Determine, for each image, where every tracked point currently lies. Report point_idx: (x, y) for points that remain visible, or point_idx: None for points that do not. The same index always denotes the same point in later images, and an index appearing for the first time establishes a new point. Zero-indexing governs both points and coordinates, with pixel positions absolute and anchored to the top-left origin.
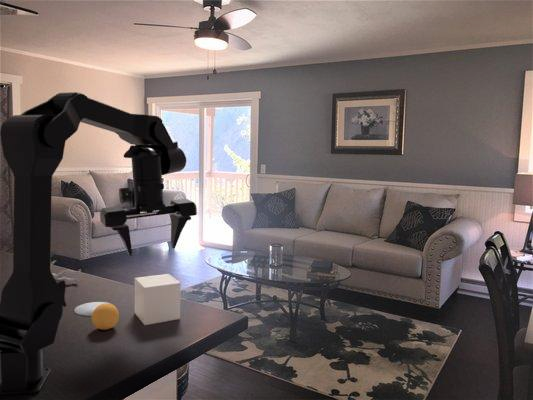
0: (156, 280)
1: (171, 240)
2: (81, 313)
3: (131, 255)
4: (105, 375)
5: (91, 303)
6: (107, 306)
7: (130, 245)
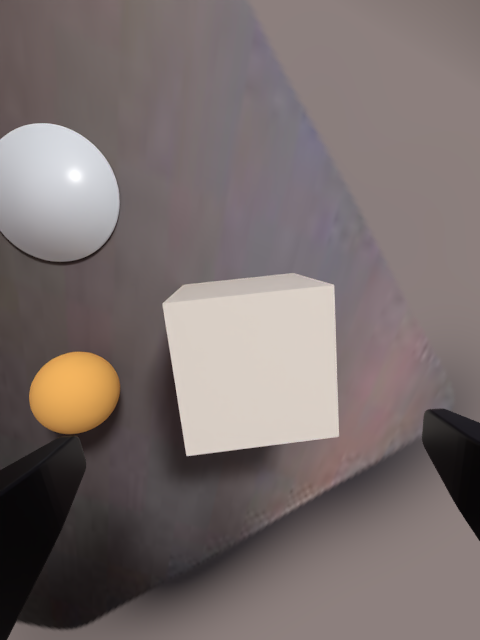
0: (252, 376)
1: (468, 460)
2: (12, 236)
3: (84, 468)
4: (94, 585)
5: (39, 137)
6: (66, 424)
7: (21, 598)
